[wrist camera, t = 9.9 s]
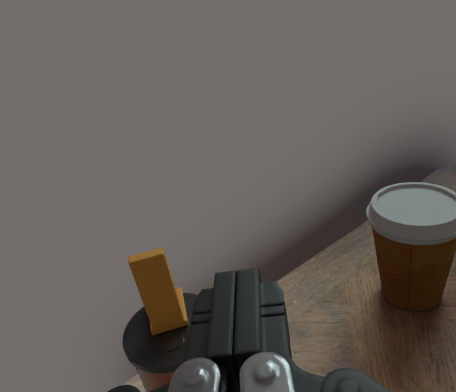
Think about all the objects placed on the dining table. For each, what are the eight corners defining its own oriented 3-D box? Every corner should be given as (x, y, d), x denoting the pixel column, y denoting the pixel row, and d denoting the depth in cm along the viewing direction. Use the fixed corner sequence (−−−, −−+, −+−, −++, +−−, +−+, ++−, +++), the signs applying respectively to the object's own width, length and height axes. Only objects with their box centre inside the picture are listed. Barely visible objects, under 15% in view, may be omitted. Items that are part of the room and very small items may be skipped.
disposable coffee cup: (397, 255, 52) (400, 172, 46) (475, 289, 45) (489, 196, 39) (350, 293, 47) (347, 207, 42) (427, 338, 40) (436, 241, 35)
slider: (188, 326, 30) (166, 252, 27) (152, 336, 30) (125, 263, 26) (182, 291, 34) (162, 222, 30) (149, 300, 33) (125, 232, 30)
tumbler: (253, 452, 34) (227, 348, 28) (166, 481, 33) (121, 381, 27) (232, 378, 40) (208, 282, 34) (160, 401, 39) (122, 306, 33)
